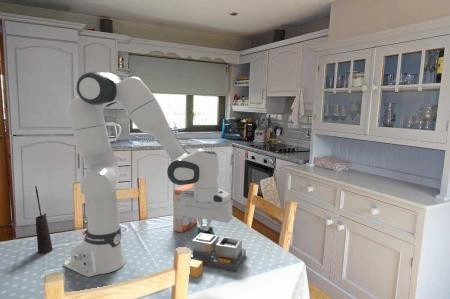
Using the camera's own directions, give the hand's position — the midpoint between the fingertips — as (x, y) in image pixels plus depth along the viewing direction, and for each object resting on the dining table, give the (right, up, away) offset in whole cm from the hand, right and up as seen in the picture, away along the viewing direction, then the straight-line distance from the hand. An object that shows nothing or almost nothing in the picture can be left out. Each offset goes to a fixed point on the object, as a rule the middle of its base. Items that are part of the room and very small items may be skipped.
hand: (204, 229), depth 115 cm
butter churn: (-67, -12, +15) cm, 70 cm away
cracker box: (-12, -10, +41) cm, 44 cm away
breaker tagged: (+9, -12, +8) cm, 17 cm away
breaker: (0, -9, +11) cm, 14 cm away
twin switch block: (+4, -14, +10) cm, 18 cm away
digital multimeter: (-1, -12, +29) cm, 32 cm away
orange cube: (-4, -16, -1) cm, 16 cm away
